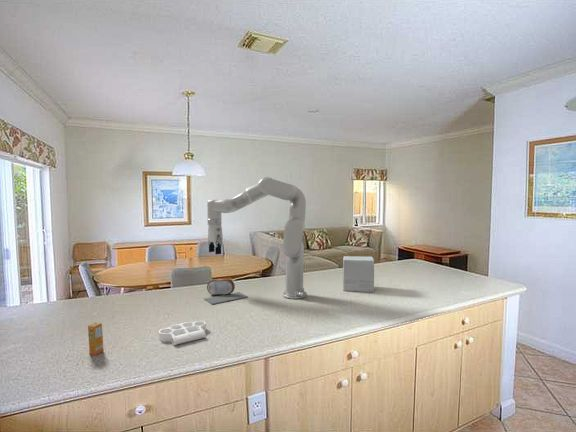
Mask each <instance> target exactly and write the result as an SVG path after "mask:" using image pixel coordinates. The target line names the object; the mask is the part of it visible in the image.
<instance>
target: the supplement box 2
mask: <svg viewBox="0 0 576 432" xmlns="http://www.w3.org/2000/svg"><path fill="white" fill-rule="evenodd" d="M342 260H343V261H342V262H343V263H342V267H343V268H342V274H343V275H342V290H343V292H361V293H362V292H365V293H366V292H367V293H374V292H375V260H374V257H373V256H363V255H362V256H356V255H354V256H353V255H352V256H351V255H348V256H347V255H344V256H343V258H342Z"/></svg>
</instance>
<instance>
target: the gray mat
mask: <svg viewBox="0 0 576 432" xmlns="http://www.w3.org/2000/svg"><path fill="white" fill-rule="evenodd" d="M247 298H249V297H248V295H247V294H244V293H242V292H240V291H239V292H232V293H230V294H228V295H215V296H211V297H205V298H204V301H206V302H207V303H208V304H210V305H213V306H214V305H219V304H223V303H227V302H233V301H237V300H242V299H247Z"/></svg>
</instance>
